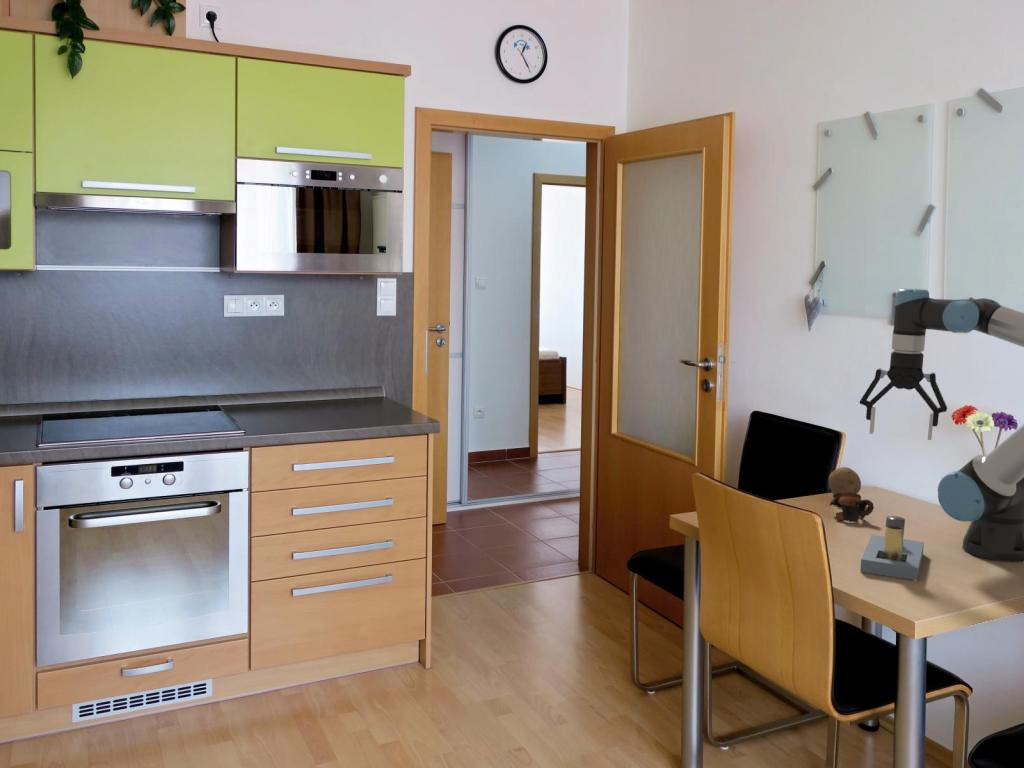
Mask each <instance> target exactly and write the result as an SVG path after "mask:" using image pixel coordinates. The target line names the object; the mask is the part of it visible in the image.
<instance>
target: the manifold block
mask: <svg viewBox="0 0 1024 768" xmlns="http://www.w3.org/2000/svg"><path fill="white" fill-rule="evenodd" d="M884 539H885V535H884V536H883V535H876V534H871V535H870V538H869V540H868V543H867V545H866V547H865V550H864V552H863V554H862V556H861V560H860V568H859V569H860V571H862V572H861V573H864V572H867V573H866V574H870V573H871V574H872V575H876V574H878V575H877V576H883V575H886V576H885V577H889V576H892V577H891V578H895V577H899V578H898V579H902V578H906V579H905V580H908V579H912V580H911V581H914V580H917V581H918V577H919V574H920V570H921V566H922V565H921V564H922V561H923V560H922V559H923V557H924V547H925V541H919V540H911V539H906V538H903V548H902V560H901V562H900V561H893V560H887V559H883V551H884ZM922 556H923V557H922ZM919 569H920V570H919ZM918 573H919V574H918Z"/></svg>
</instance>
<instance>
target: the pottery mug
mask: <svg viewBox="0 0 1024 768" xmlns="http://www.w3.org/2000/svg"><path fill="white" fill-rule="evenodd" d="M832 505H833V506H834V507H837V508H841V509H842V510H841V511H839V512H836V513H835V518H836V521H837V522H838V521H847V522H854V523H859V518H860V519H861V520H863V519H865V517H866V516H869V515H871V514H872V512H873V510H874V509H875V506H874V502H872V501H871V500H870V499H862V496H861V494H859V493H857V494H856V493H850V492H843V493H836V494H834V495H833V494H832V499H831V501H830V503H829V506H832ZM866 507H867V508H866Z"/></svg>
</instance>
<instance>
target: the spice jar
mask: <svg viewBox="0 0 1024 768" xmlns="http://www.w3.org/2000/svg"><path fill="white" fill-rule="evenodd" d="M885 518H886V520H885V521H886V522H885V530H884V536H885V539H884V551H883V559H887V560H893V561H900V562H901V560H902V548H903V539H904V535H905V524H906V519H905V518H904V517H902V516H897V515H888V516H886V517H885Z"/></svg>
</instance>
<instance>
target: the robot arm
mask: <svg viewBox="0 0 1024 768" xmlns="http://www.w3.org/2000/svg"><path fill="white" fill-rule="evenodd" d="M929 292H930V291H929V290H928V289H921V288H900V289H898V290H897V292H896V297H895V304H894V314H893V315H894V318H893V331H892V338H891V350H893V351H891V352H890V363H889V369H888V370H886V369H882V368H877V369H876V370H875V374H874V378H873V380H872V381H871V383H870V385H869V386H868V388H867V389H866V391H865V392H864V393H863V395H862V397H861V399H860V400H859V404H860V405H862V406H865V407H866V413H865V419H866V420H867V421H870V423H869V432H868V434H869V435H873V434H874V431H875V419H876V406H874V405H875V404H877V402H878V401H879V400H881V398H882V397H884V396H885V395H886V394H887V393H888V392H889V391H891V389H892V388H896V389H898V390H902V389H905V390H908V391H911V390H914V389H915V391H916V392H917V393H918V395H919V396H920V397H921V398H922V399H923V401H924V402H925V403H926V405H927V406H928V407H929V408H930V409H931V412H930V413H929V420H928V433H927V440H928V441H931V440H932V438H933V428H934V427H937V426H938V424H939V417H940V416H939V415H940V413H946V412H947V410H948V406H947V404H946V402H945V399H944V397H943V395H942V392H941V389H940V388H939V385H938V383H937V376H936V375H937V374H936V373H935V372H930V373H925V372H924V371H923V367H924V355H925V354H923V352H924V351H925V344H926V343H925V342H926V332H927V330H935V331H942V332H951V333H952V334H953V333H954V334H957V333H960V334H962V333H964V334H965V333H970V332H972V331H977V332H980V333H982V334H985V335H988V336H992V337H994V338H997V339H999V340H1003V341H1004V342H1008V343H1010V344H1013V345H1016V346H1019V347H1022V348H1024V312H1022V311H1019V310H1015V309H1013V308H1009V307H1006V306H1003V305H1001V304H1000V303H999V302H998V301H996V300H994V299H989V298H983V297H982V298H970V299H968V298H967V299H965V298H964V299H961V298H960V299H944V298H931V297H930V293H929ZM885 376H887V377H888V379H889V381H890V382H889V383H888V384H886V386H884V388H882V389H881V390H880V391H879V392H878V393H877V394H876V395H875V396H874V397H873V398H872V399H870V400H868V399H869V397H870V396H871V394H872V392H873V391H874V390H875V388H876V386H877V385H878V383H879V381H880V380H881V379H883V378H884V377H885ZM923 379H926V382H928V383H929V384H930V387H931V388H932V391H933V394H934V396H935V398H936V401H937V403H938V405H939V406H937V405H936V403H935V402H934V401H933V399H932V397H930V396H929V394H928V393H927V392H926V390H925V389H924V388H923V386H922V385H921V383H920V382H922V380H923ZM937 499H938V502H939V505H940V507H941V509H942V510H943V512H944V513H946V514H947V515H948V516H949V517H950V518H952V519H953V520H956V521H959V522H970V524H969V525H968V528H967V530H966V533H965V535H964V537H963V539H962V549H963V551H965V552H967V553H968V554H971V555H973V556H976V557H980V558H985V559H988V560H993V561H1001V562H1024V423H1022V425H1021V426H1019V427H1018V429H1016V430H1014V432H1013V433H1011V434H1010V435H1009V436H1008V437H1007V438H1005V439H1004V440H1003V441H1002V442H1001V443H1000V444H998V446H997V447H995V448H994V449H992V451H990V452H989V453H988V454H987V455H983V454H978V455H975V456H974V457H973V458H972V459H970V460H969V461H968V462H967V463H966V464H964V466H962V467H961V468H960V469H958V470H957V471H951V472H949V473H947V474H945V475H944V476H943V477H942V478H941V479H940V481H939V483H938V486H937Z"/></svg>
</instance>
